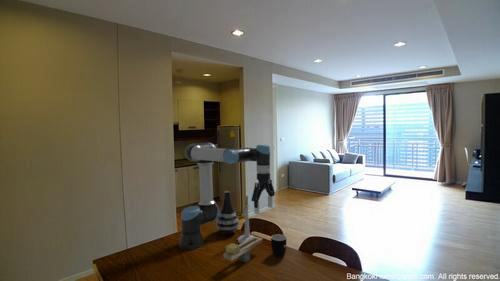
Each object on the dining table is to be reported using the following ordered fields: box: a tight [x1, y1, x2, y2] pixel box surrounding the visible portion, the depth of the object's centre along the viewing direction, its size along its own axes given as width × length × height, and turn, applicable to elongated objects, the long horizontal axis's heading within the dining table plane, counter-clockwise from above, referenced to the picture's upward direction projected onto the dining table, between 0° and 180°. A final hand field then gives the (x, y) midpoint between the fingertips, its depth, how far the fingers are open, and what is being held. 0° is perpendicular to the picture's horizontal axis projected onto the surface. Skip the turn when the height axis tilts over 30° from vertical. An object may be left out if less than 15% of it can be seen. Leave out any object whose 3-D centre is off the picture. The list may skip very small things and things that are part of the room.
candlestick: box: [236, 195, 255, 244], centre depth 171 cm, size 13×13×30 cm
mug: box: [270, 233, 287, 258], centre depth 152 cm, size 12×9×10 cm
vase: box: [216, 190, 240, 235], centre depth 184 cm, size 16×16×30 cm
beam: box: [222, 235, 264, 264], centre depth 145 cm, size 6×28×8 cm, turn 143°
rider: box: [225, 242, 240, 255], centre depth 137 cm, size 6×5×5 cm
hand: (263, 210), depth 145 cm, fingers open, 13 cm apart
